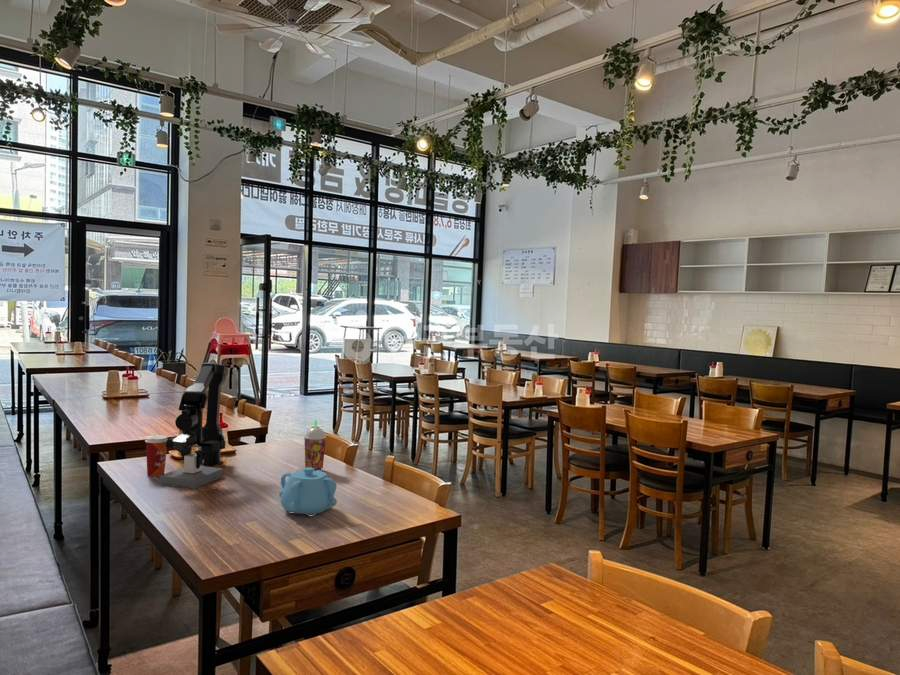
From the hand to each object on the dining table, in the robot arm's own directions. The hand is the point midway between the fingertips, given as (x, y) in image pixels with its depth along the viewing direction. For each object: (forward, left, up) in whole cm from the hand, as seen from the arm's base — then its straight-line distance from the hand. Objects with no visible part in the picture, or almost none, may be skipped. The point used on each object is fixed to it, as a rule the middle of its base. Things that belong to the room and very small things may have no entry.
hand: (192, 467), depth 218 cm
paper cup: (-1, -16, -5) cm, 17 cm away
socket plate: (0, 0, -4) cm, 5 cm away
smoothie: (-28, +34, -5) cm, 44 cm away
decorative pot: (+14, +52, -5) cm, 54 cm away
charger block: (0, 0, -1) cm, 1 cm away
